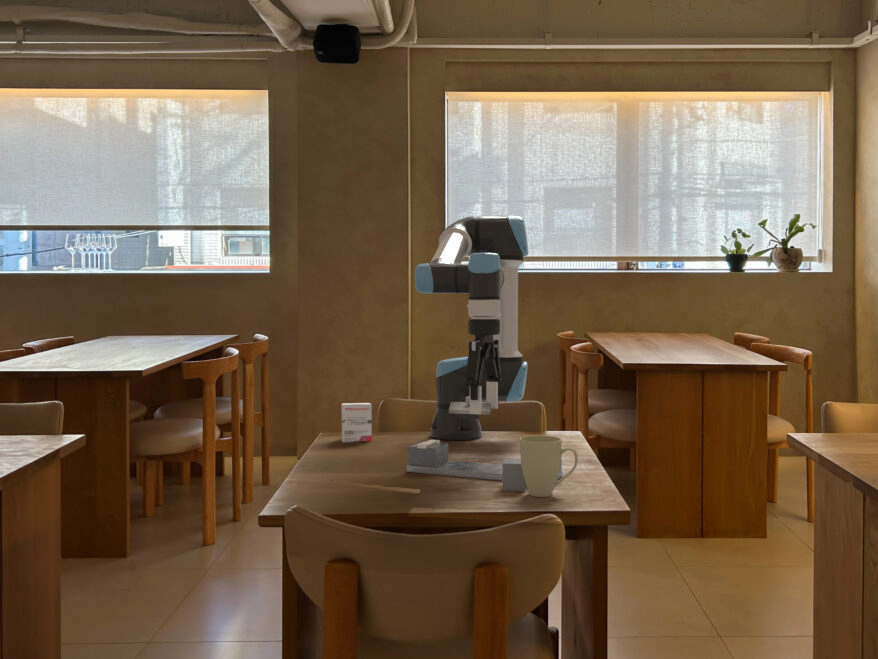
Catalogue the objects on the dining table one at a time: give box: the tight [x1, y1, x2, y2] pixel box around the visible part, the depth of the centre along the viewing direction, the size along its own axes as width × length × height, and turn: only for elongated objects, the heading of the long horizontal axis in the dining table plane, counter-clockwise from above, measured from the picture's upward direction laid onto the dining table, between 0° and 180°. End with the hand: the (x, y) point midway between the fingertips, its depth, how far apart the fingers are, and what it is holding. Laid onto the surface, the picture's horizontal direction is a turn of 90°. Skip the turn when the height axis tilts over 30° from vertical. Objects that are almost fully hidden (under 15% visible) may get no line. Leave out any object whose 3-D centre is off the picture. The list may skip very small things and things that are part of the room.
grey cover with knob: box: [449, 396, 492, 419], centre depth 201 cm, size 10×10×5 cm
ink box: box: [341, 402, 373, 443], centre depth 243 cm, size 8×5×12 cm, turn 99°
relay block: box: [501, 458, 527, 492], centre depth 187 cm, size 5×5×6 cm
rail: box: [406, 439, 564, 481], centre depth 202 cm, size 10×36×7 cm, turn 66°
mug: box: [519, 434, 579, 498], centre depth 181 cm, size 11×10×12 cm
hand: (483, 411), depth 201 cm, fingers closed on grey cover with knob, 10 cm apart
